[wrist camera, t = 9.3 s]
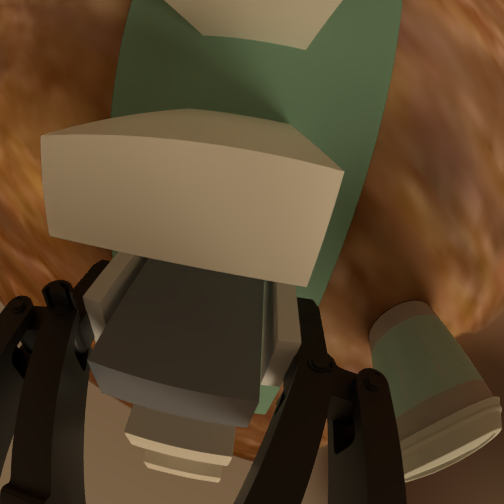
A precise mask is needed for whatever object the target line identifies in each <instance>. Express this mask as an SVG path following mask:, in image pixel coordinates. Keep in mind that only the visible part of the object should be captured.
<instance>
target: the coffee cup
mask: <svg viewBox="0 0 504 504" xmlns="http://www.w3.org/2000/svg"><path fill="white" fill-rule="evenodd" d="M369 343H370V349H371V356H372V363H373V369H376V370H378V371H379V372H381V373H382V374H383V375H384V376H385V377H386V379H387V381H388V384H389V388H390V393H391V397H392V402H393V407H394V412H395V417H396V423H397V428H398V434H399V440H400V447H401V454H402V461H403V469H404V478H405V482H408V481H412V480H415V479H418V478H421V477H424V476H427V475H429V474H432V473H434V472H437V471H439V470H441V469H444V468H446V467H448V466H450V465H452V464H454V463H456V462H457V461H460V460H461V459H463V458H465V457H466V456H468V455H470V454H472V453H473V452H475V451H476V450H478V449H479V448H481V447H482V446H484V445H485V444H486V443H488V442H489V441H490V440H492V439H493V438H494V437H495V436H496V435H497V434H498V433H499V432H500V431H501V414H500V413H501V411H502V407H501V406H500V403H499V401H500V398H499V397H493V396H492V394H491V392H490V390H489V389H488V387H487V385H486V384H485V382H484V381H483V379H482V378H481V376H480V375H479V373H478V371H477V370H476V368H475V367H474V365H473V364H472V362H471V361H470V360H469V358H468V357H467V355H466V354H465V352H464V351H463V349H462V348H461V347H460V345H459V344H458V342H457V341H456V340H455V338H454V337H453V336H452V334H451V333H450V332H449V330H448V329H447V328H446V326H445V325H444V324H443V322H442V321H441V320H440V319H439V317H438V316H437V315H436V314H435V312H434V311H433V310H432V309H431V307H430V306H429V305H428V304H426V303H425V302H422V301H408V302H404V303H401V304H399V305H396V306H394V307H393V308H391V309H389V310H388V311H386V312H385V313H384V314H382V315H381V316H380V317H379V318H378V319H377V321H376V322H375V323H374V325H373V326H372V328H371V330H370V333H369Z"/></svg>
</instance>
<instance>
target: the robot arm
mask: <svg viewBox="0 0 504 504" xmlns="http://www.w3.org/2000/svg"><path fill="white" fill-rule="evenodd" d="M147 259H148V258H147V257H142V256H138V255H133V254H128V253H123V252H118V253H117V254H116V255H115V257H114V258H113V259H112V260H111V261H107V260H101V261H99V262H98V263H96V264H94V265H93V266H92V267H91V268H90V270H89V271H88V273H86V274H85V276H84V277H83V279H81V280H80V282H79V283H78V284H77V285H76V286H75V288H74V289H73V287H72V285H71V284H70V283H69V282H67V281H64V280H55V281H53V282H50V283H48V284H47V285H46V286H45V287H44V288H43V289H42V293H43V296H44V299H45V302H46V304H47V307H42V306H33V303H32V301H31V299H30V298H29V297H27V296H17V297H15V298H13V299H12V300H11V301H10V302H9V303H8V304H7V305H6V307H5V308H4V309H3V311H2V312H1V313H0V476H1V472H2V468H3V465H4V462H5V459H6V455H7V452H8V449H9V446H10V443H11V440H12V437H13V435H14V439H13V448H12V461H11V478H10V481H9V483H8V484H6V485H4V486H3V487H2V489H1V492H0V504H86V503H85V490H84V465H83V464H84V461H83V451H84V450H83V449H84V447H83V446H84V421H85V408H86V396H87V387H88V379H89V371H90V366H89V364H88V361H87V359H88V357H89V355H90V353H91V351H92V348H91V346H90V345H91V343H92V342H93V340H94V338H95V341H96V342H97V340H98V339H99V337H100V335H101V333H102V332H103V330H104V328H105V326H106V325H107V323H108V321H109V320H110V318H111V316H112V315H113V313H114V311H115V310H116V308H117V306H118V305H119V303H120V301H121V300H122V298H123V296H124V295H125V293H126V292H127V290H128V288H129V287H130V285H131V284H132V282H133V281H134V279H135V278H136V276H137V274H138V273H139V271H140V270H141V268H142V267H143V265H144V264H145V262H146V261H147ZM320 317H321V316H320V311H319V307H318V306H317V305H316V303H315V302H314V300H313V299H307V298H300V297H297V296H296V288H295V285H291V284H285V283H279V282H273V281H268V280H265V283H264V313H263V340H262V365H261V385H267V386H276V387H280V386H281V384H282V382H283V381H284V391H283V392H282V394H281V396H280V398H279V399H278V401H277V403H276V405H277V407H276V409H275V412H274V414H273V417H272V419H271V422H270V424H269V427H268V429H267V432H266V434H265V436H264V439H263V441H262V443H261V446H260V448H259V450H258V453H257V455H256V457H255V460H254V462H253V464H252V466H251V469H250V471H249V473H248V475H247V477H246V479H245V481H244V483H243V486H242V488H241V490H240V492H239V494H238V496H237V498H236V500H235V502H234V504H301V502H302V499H303V497H304V494H305V491H306V488H307V485H308V482H309V479H310V476H311V472H312V469H313V466H314V463H315V459H316V456H317V452H318V449H319V445H320V441H321V438H322V434H323V430H324V426H325V422H326V418H327V421H328V504H407V502H406V489H405V478H404V469H403V461H402V454H401V447H400V440H399V434H398V428H397V423H396V417H395V412H394V407H393V402H392V397H391V393H390V388H389V384H388V381H387V379H386V377H385V376H384V375H383V374H382V373H381V372H379V371H378V370H376V369H372V368H366V369H363V370H361V371H360V372H359V373H358V374H356V373H353V372H350V371H347V370H344V369H342V368H340V367H338V366H337V365H336V363H335V361H334V359H333V358H332V357H331V356H330V355H329V354H328V353H327V349H326V343H325V338H324V332H323V327H322V321H321V319H320ZM20 341H21V343H22V345H21V347H20V348H18V347H17V345H18V343H19V342H20Z"/></svg>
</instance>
